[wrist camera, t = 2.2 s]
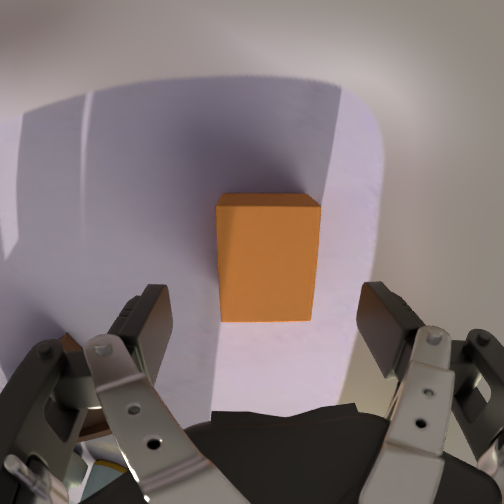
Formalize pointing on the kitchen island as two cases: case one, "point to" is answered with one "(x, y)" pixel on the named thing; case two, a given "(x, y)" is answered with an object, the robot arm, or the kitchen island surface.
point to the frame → (95, 418)
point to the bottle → (101, 476)
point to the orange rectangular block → (267, 256)
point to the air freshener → (75, 472)
